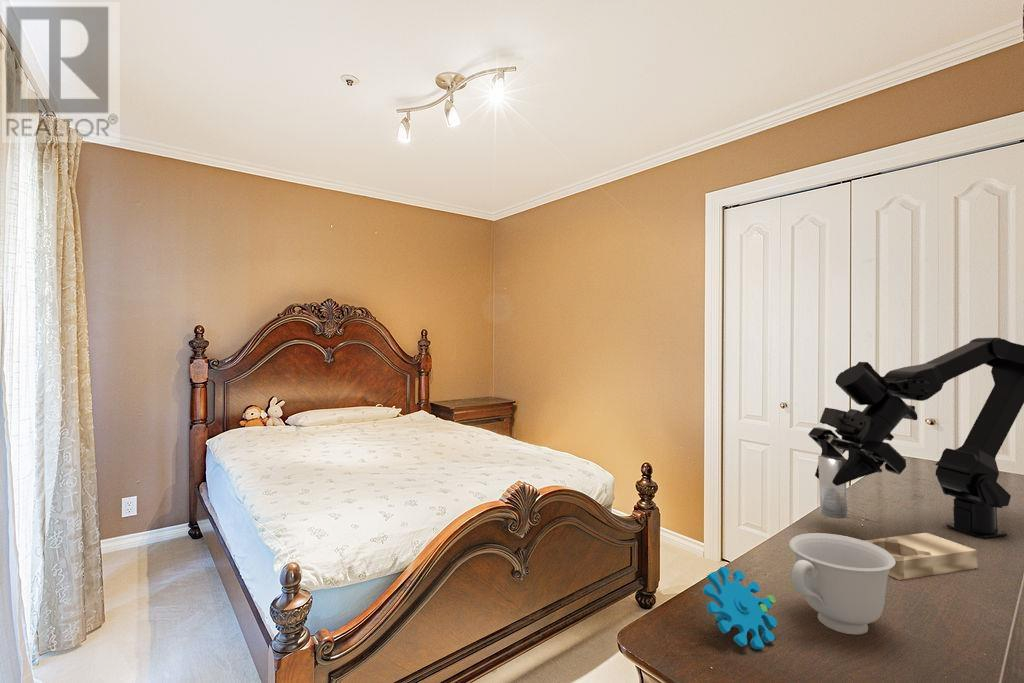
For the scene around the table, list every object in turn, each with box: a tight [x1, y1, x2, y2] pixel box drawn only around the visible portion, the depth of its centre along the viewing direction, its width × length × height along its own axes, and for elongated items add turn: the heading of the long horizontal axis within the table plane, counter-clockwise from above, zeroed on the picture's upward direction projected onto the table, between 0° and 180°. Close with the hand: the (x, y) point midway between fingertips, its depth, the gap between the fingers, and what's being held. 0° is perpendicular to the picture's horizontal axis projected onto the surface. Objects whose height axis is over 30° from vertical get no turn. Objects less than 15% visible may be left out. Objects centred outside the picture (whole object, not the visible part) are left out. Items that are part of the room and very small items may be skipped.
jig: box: [863, 532, 979, 581], centre depth 83 cm, size 16×8×3 cm, turn 101°
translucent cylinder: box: [817, 455, 849, 519], centre depth 94 cm, size 4×4×11 cm
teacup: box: [788, 532, 896, 636], centre depth 66 cm, size 12×15×10 cm
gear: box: [702, 566, 778, 650], centre depth 66 cm, size 11×6×10 cm
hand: (825, 480), depth 94 cm, fingers closed on translucent cylinder, 4 cm apart
